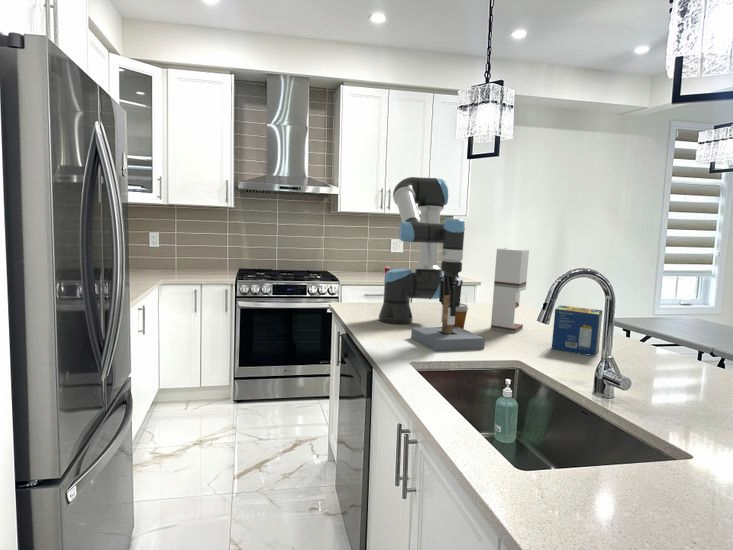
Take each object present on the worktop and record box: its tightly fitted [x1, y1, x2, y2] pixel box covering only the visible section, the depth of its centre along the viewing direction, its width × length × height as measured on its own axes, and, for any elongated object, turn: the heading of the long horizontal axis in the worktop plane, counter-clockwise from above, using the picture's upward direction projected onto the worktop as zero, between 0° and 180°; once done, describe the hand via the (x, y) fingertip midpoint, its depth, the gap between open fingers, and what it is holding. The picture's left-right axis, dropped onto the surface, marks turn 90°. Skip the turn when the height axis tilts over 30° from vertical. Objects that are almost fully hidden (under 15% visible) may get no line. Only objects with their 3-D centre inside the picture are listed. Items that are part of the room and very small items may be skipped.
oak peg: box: [441, 295, 453, 334], centre depth 192 cm, size 4×4×14 cm
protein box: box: [550, 304, 603, 356], centre depth 192 cm, size 10×15×16 cm
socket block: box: [410, 326, 486, 352], centre depth 193 cm, size 20×20×4 cm
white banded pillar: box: [490, 247, 530, 334], centre depth 223 cm, size 11×11×35 cm
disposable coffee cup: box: [453, 302, 469, 330], centre depth 211 cm, size 10×10×12 cm
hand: (447, 323), depth 193 cm, fingers closed on oak peg, 4 cm apart
